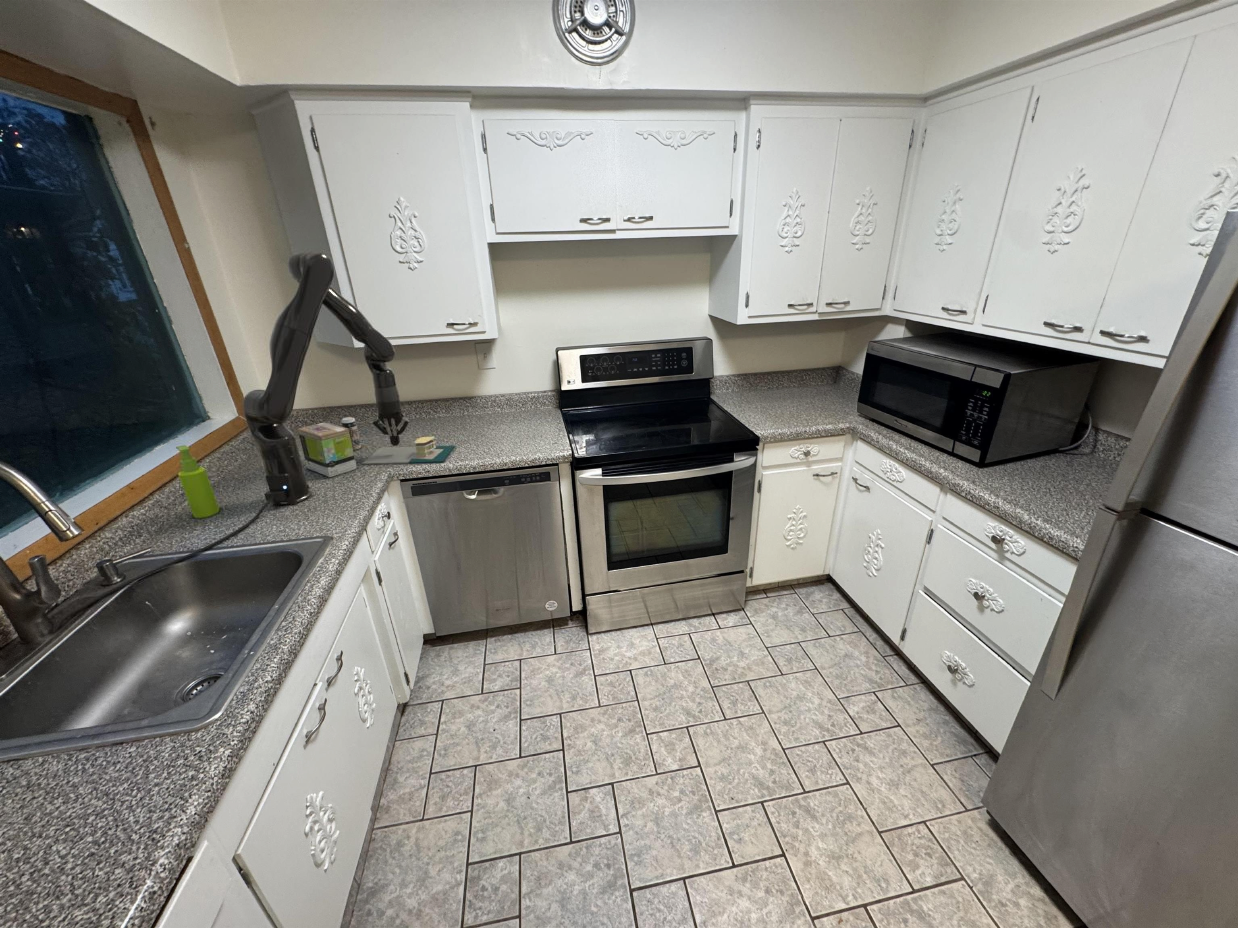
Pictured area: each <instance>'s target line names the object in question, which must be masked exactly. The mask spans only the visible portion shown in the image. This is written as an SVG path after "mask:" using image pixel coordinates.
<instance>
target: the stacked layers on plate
mask: <svg viewBox="0 0 1238 928" xmlns="http://www.w3.org/2000/svg"><path fill="white" fill-rule="evenodd" d="M434 439H435V437H434V436H421V437H418V438H417V439H416V440H415V441H413V444H415V445H414V447H416V451H415V452H416V453H415V454H414V455H412V456H411V457H410V458H411V459H433V458H434V457H435V456H437V455H438V454H439V453H440V452H441V451H443V450H444V449H434V448H436V446H437V445H435V443H436V440H434Z"/></svg>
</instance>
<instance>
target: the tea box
mask: <svg viewBox="0 0 1238 928" xmlns="http://www.w3.org/2000/svg"><path fill="white" fill-rule="evenodd" d="M297 432H298V437H299V441H300V444H301V445H300V446H301V448H302V452H303V457H304V460H305V464H306V468H307V469H309V470H311V471H313V472H315V473H318V474H320V475H323V476H326V477H328V478H332V477H335V476H339V475H343V474H345V473H348V472H351V471H353V470H357V463H356V458H355V454H354V450H353V448H352V443H351V439H350V434H349V430H348V428H344V427H343V426H342V425H341V426H340V425H337V424H333V423H330V422H327V421H324V422H321V423H316V424H313V425H307V426H304V427H300V428H297Z"/></svg>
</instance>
